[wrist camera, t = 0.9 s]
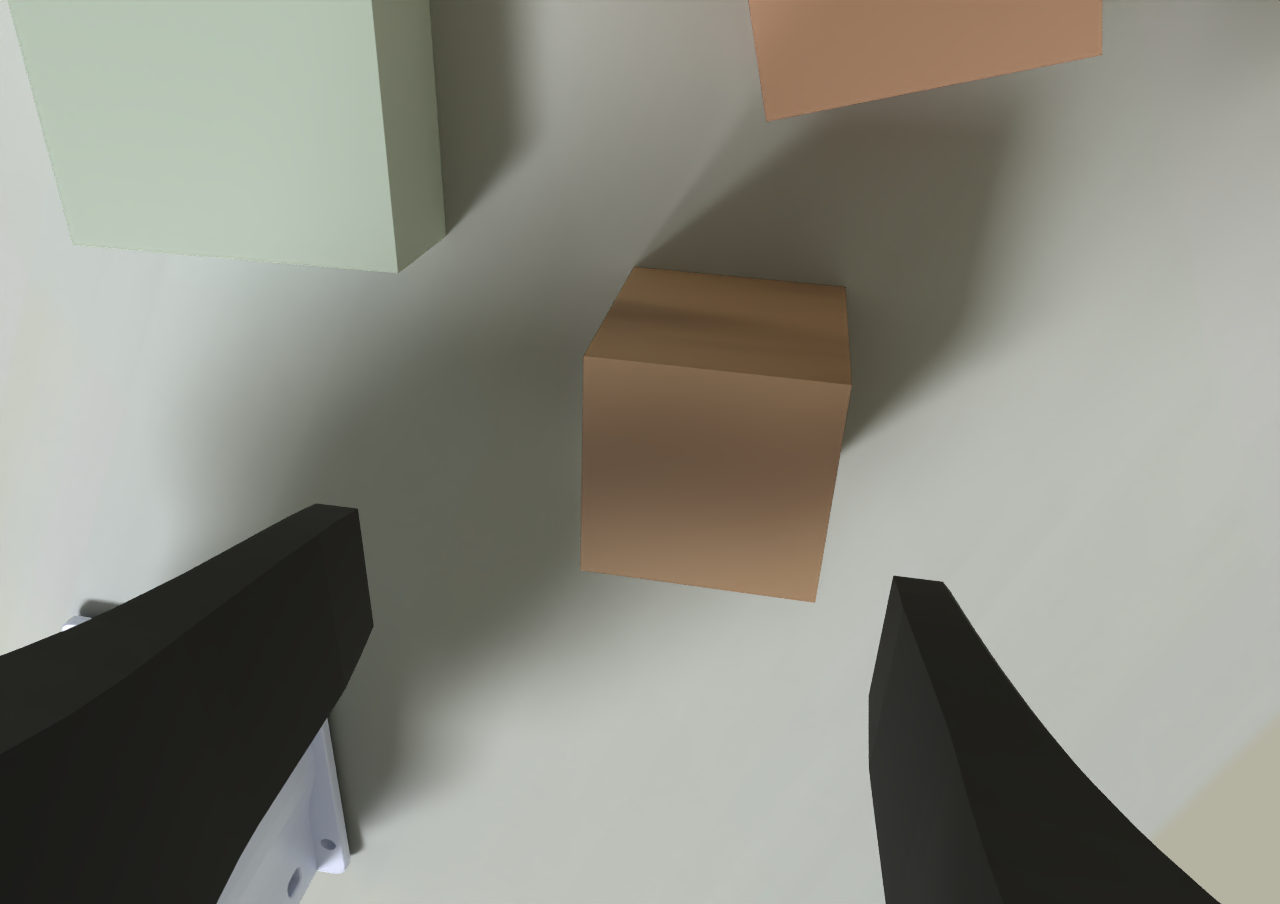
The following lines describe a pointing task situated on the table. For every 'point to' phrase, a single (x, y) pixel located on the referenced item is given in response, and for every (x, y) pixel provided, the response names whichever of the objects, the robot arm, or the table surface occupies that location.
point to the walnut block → (714, 431)
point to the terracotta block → (907, 46)
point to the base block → (241, 126)
